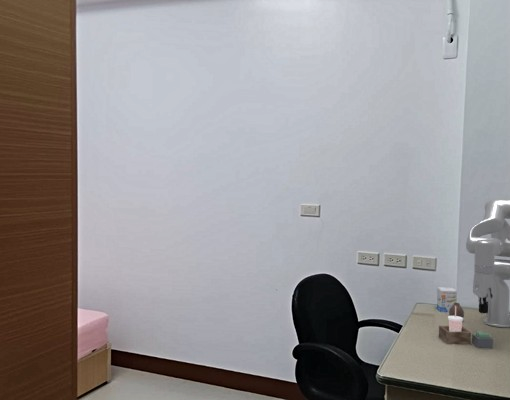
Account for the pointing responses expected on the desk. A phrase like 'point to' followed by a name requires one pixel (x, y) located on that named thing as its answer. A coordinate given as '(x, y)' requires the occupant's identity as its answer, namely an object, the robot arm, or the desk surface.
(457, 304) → the vase
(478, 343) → the button housing
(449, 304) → the ink box
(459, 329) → the beverage cup
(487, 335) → the button
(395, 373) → the desk surface
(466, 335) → the open wooden cube shelf
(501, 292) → the robot arm
